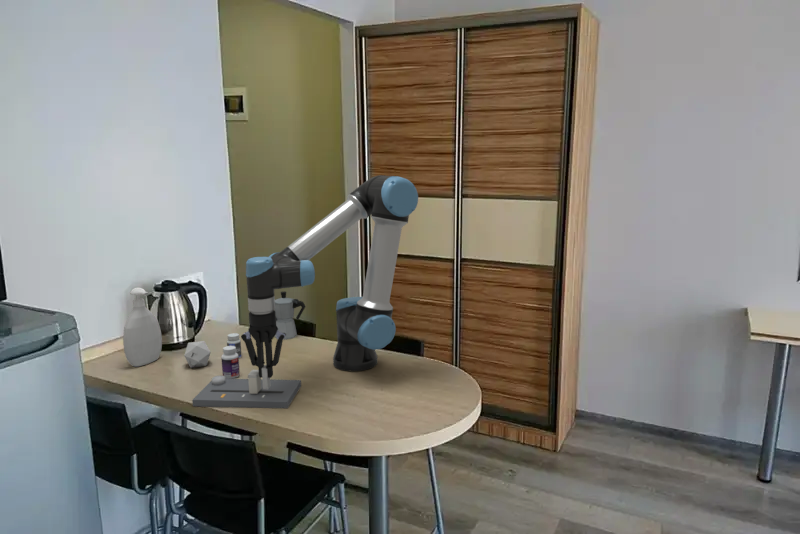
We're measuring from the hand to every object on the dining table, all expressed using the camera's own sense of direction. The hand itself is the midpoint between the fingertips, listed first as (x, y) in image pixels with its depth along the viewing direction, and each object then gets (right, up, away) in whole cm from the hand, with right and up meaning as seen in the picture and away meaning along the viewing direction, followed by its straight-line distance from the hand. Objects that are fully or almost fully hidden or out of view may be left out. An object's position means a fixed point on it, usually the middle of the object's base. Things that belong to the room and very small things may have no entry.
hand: (266, 387), depth 176 cm
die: (-30, +2, +28) cm, 41 cm away
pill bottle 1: (-19, +3, +35) cm, 40 cm away
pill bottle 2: (-16, 0, +18) cm, 24 cm away
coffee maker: (-4, +8, +58) cm, 58 cm away
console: (-6, -3, +3) cm, 7 cm away
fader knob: (-3, -1, +1) cm, 4 cm away
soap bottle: (-49, +2, +31) cm, 58 cm away
